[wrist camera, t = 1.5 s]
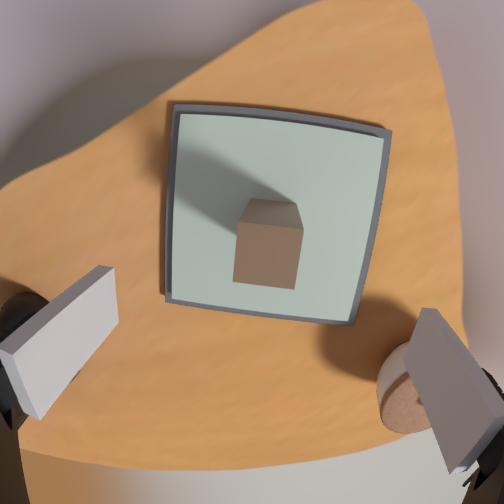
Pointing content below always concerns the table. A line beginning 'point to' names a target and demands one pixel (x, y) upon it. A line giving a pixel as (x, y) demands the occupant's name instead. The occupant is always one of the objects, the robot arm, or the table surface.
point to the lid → (271, 214)
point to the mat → (283, 117)
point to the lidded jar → (399, 396)
